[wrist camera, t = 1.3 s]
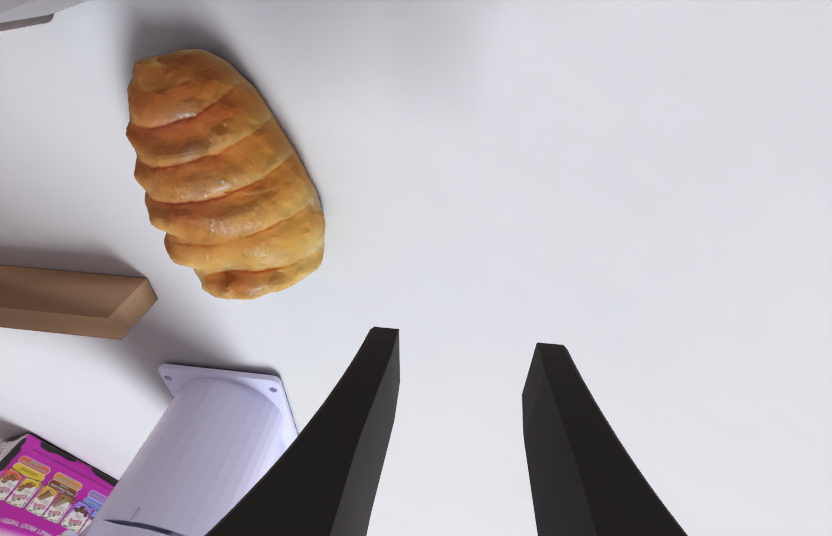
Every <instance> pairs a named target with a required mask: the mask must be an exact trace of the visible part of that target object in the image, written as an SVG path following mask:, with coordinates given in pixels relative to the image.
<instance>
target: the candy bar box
mask: <svg viewBox="0 0 832 536" xmlns="http://www.w3.org/2000/svg"><path fill="white" fill-rule="evenodd" d="M117 483H118V481H116V480H114V479H113V478H111V477H109V476H107V475H105V474H103V473H102V472H100V471H98V470H96V469H94V468H92V467H91V466H89V465H87V464H85V463H83V462H81V461H80V460H78V459H76V458H74V457H72V456H70V455H68V454H67V453H65V452H63V451H61V450H59V449H57V448H56V447H54V446H52V445H50V444H48V443H46V442H44V441H42V440H41V439H39V438H37V437H35V436H33V435H31V434H24V435H21V436H19V437H14V438H10V439H7V440H5V441H2V442H1V443H0V536H57V535H59V536H60V535H61V534H62V533H63V532H64V531H66V530H71V531H73V532H75V533H77V534H79V533H80V532H82V531H83V530H84V529H85V528H86V527H87V526H88V525H89V524H90V523H91V522H92V520H93V519H94V517H95V516H96V514H97V513H98V511H99V510H100V508H101V507H102V505H103V504H104V502H105V501H106V499H107V498H108V496H109V495H110V493H111V492H112V490H113V489H114V487H115V486H116V484H117Z"/></svg>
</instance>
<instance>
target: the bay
mask: <svg viewBox="0 0 832 536" xmlns="http://www.w3.org/2000/svg"><path fill="white" fill-rule="evenodd" d="M53 15H54V13H52V14H50V15H45V16H39V17H33V18H27V19H21V20H15V21H9V22H3V23H0V31H4V30H10V29H15V28H21V27H26V26H32V25H37V24H42V23H47V22H49V21H51V20H52V18H53ZM156 301H157V297H156V295H155V293H154V291H153V289H152V287H151V285H150V283H149V281H148V279H147V278H138V277H127V276H116V275H105V274H94V273H83V272H72V271H61V270H50V269H39V268H28V267H17V266H6V265H0V327H4V328H14V329H23V330H33V331H42V332H52V333H61V334H71V335H80V336H90V337H99V338H109V339H118V340H121V339H122V338H123V337H124V336H125V335H126V334H127V333H128V332H129V331H130V329H131V328H132V327H133V326H134V325H135V324H136V323H137V322H138V321H139V319H140V318H141V317H142V316H143V315H144V314H145V313H146V312H147V311H148V309H149V308H150V307H151V306H152V305H153V304H154V303H155V302H156Z"/></svg>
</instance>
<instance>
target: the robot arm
mask: <svg viewBox="0 0 832 536" xmlns="http://www.w3.org/2000/svg"><path fill="white" fill-rule="evenodd" d="M158 372H159V374H160V376H161V378H162V379H163V381H164V383H165V384H166V386H167V388H168V389H169V391H170V393H171V394H172V396H173V398H174V399H173V401H172V402H171V404H170V405H169V407H168V408H167V410H166V411H165V413H164V414H163V416H162V417H161V419H160V420H159V422H158V423H157V425H156V426H155V428H154V429H153V431H152V432H151V434H150V435H149V437H148V438H147V439H146V441H145V442H144V444H143V445H142V447H141V448H140V450H139V451H138V453H137V454H136V456H135V457H134V459H133V460H132V462H131V463H130V465H129V466H128V468H127V469H126V471H125V472H124V474H123V475H122V477H121V478H120V480H119V481H118V483H117V484H116V486H115V487H114V489H113V490H112V492H111V493H110V495H109V496H108V498H107V499H106V501H105V502H104V504H103V505H102V507H101V508H100V510H99V511H98V513H97V514H96V516H95V517H94V519H93V520H92V522H91V523H90V524H89V525H88V526H87V527H86V528H85V529H84V530H83V531H82V532H80V533H79V534H77V533H75V532H73V531H71V530H66V531H64V532H63V533H62V534H61V535H60V536H366V535H367V529H368V525H369V520H370V515H371V511H372V507H373V503H374V499H375V495H376V491H377V487H378V483H379V479H380V475H381V471H382V467H383V463H384V459H385V455H386V451H387V447H388V443H389V439H390V435H391V431H392V427H393V423H394V418H395V412H396V405H397V398H398V391H399V384H400V361H399V329H392V328H381V327H373V328H372V329H370V331H369V333H368V335H367V337H366V338H365V340H364V342H363V344H362V346H361V347H360V349H359V351H358V352H357V354H356V356H355V357H354V359H353V361H352V362H351V364H350V365H349V367H348V368H347V370H346V371H345V373H344V375H343V376H342V377H341V379H340V380H339V382H338V383H337V385H336V386H335V387H334V389H333V390H332V392H331V393H330V395H329V396H328V398H327V399H326V400H325V402H324V403H323V404H322V406H321V407H320V408H319V410H318V411H317V412H316V414H315V415H314V416H313V417H312V419H311V420H310V421H309V423H308V424H307V425H306V426H305V428H304V429H303V430H302V432H301V433H300V434H299V435H298V434H297V431H296V428H295V425H294V421H293V418H292V415H291V412H290V408H289V405H288V402H287V399H286V395H285V392H284V389H283V386H282V382H281V380H280V379H279V378H278V377H276V376H273V375H265V374H256V373H247V372H238V371H228V370H219V369H210V368H201V367H192V366H183V365H174V364H162V365H161V366H160V367H159V368H158ZM522 408H523V434H524V443H525V450H526V457H527V464H528V471H529V478H530V485H531V491H532V498H533V505H534V512H535V519H536V526H537V532H538V536H688V535H687V534H686V533H685V532H684V530H683V529H682V528H681V526H680V525H679V524H678V522H677V521H676V520H675V519H674V517H673V516H672V515H671V513H670V512H669V511H668V510H667V508H666V507H665V505H664V504H663V503H662V501H661V500H660V499H659V497H658V496H657V495H656V493H655V492H654V490H653V489H652V488H651V486H650V485H649V484H648V482H647V481H646V479H645V478H644V476H643V475H642V473H641V472H640V471H639V469H638V468H637V466H636V465H635V463H634V462H633V460H632V459H631V457H630V456H629V454H628V453H627V451H626V450H625V448H624V447H623V445H622V444H621V442H620V441H619V439H618V438H617V436H616V434H615V433H614V431H613V430H612V428H611V426H610V425H609V423H608V421H607V420H606V418H605V417H604V415H603V413H602V412H601V410H600V408H599V407H598V405H597V403H596V402H595V400H594V398H593V396H592V395H591V393H590V391H589V389H588V388H587V386H586V384H585V382H584V381H583V379H582V377H581V375H580V373H579V371H578V369H577V368H576V366H575V364H574V362H573V360H572V358H571V356H570V354H569V352H568V350H567V349H566V347H565V346H564V345H557V344H547V343H537V344H536V348H535V351H534V355H533V358H532V362H531V365H530V369H529V372H528V376H527V379H526V383H525V386H524V390H523V393H522ZM57 536H59V535H57Z"/></svg>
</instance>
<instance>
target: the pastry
mask: <svg viewBox="0 0 832 536" xmlns="http://www.w3.org/2000/svg"><path fill="white" fill-rule="evenodd" d="M127 91H128V102H129V112H130V122H129V124H128V126H127V128H126V129H127V131H126V136H127V138H128V139H129V141H130V142H131V144H132V146H133V147H134V149H135V151H136V154H137V159H136V166H135V171H134V176H135V178H136V180H137V181H138V183H139V184H140V185H141V186H142V187H143V188H144V189H145V190H146V193H145V203H146V206H147V209H148V212H149V218H150V221H151V224H152V225H153V226H155V227H156V228H158V229H160V230H162V231H165V232H167V233H166V236H165V239H164V244H165V247H166V250H167V252H168V254H169V256H170V258H171V259H172V260H173V261H174V262H175V263H177V264H179V265H183V266H188V267H192V268H193V269H194V271H195V273H196V274H197V276H198V277H199V279H200V281H201V283H202V288H203V290H205V291H206V292H208V293H210V294H211V295H212V296H215V297H219V298H224V299H255V298H258V297H261V296H263V295H265V294H268V293H271V292H279V291H281V290H284V289H286V288H288V287H290V286H292V285H294V284H296V283H298V282H299V281H301V280H302V279H304V278H305V277H306V276H307V275H309V274H310V273H312V272H313V271H315V270H316V269H318V267H319V266H320V265H321V262H322V260H323V254H324V234H325V220H324V214H323V210H322V207H321V204H320V201H319V197H318V192H317V190H316V188H315V186H314V185H313V183H312V181H311V179H310V178H309V176H308V173H307V171H306V169H305V167H304V166H303V164H302V163H301V161H300V159H299V156H298V154H297V152H296V151H295V149H294V147H293V146H292V145H291V143H290V142H289V140H288V139H287V137H286V135H285V134H284V132H283V131H282V129H281V127H280V126H279V124H278V122H277V120H276V119H275V117H274V115H273V114H272V112H271V111H270V109H269V108H268V106H267V105H266V103H265V102H264V100H263V99H262V97H261V96H260V94H259V93H258V91H257V90H256V88H255V87H254V86H253V85H251V84H250V83H249V82H248V81H247V80H246V79H245V78H244V77H243V76H242V75H240V73H239V72H238V71H237V70H236V69H235V68H234V67H233V66H232V65H231V64H230V63H229V62H227V61H226V60H224V59H222V58H221V57H219V56H217V55H214V54H212V53H210V52H208V51H206V50H202V49H182V50H177V51H174V52H171V53H167V54H163V55H159V56H152V57H146V58H144V59H141V60H139V61H137V62H136V64H135V66H134V69H133V77H132V80H131V82H130V84H129V85H128V89H127Z"/></svg>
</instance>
